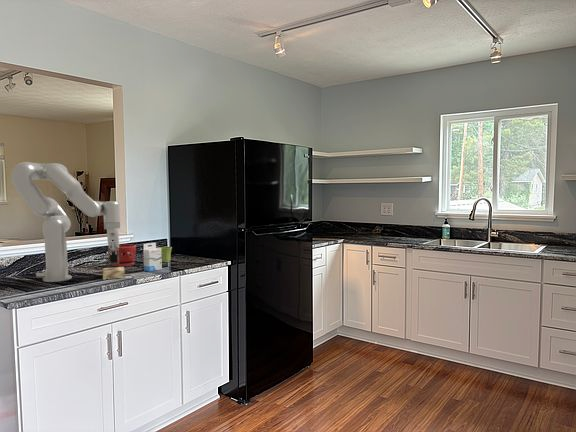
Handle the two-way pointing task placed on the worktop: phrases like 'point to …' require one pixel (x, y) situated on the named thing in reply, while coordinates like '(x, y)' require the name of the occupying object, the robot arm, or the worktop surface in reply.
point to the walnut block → (117, 256)
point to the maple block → (113, 273)
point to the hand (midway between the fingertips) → (113, 261)
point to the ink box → (152, 257)
